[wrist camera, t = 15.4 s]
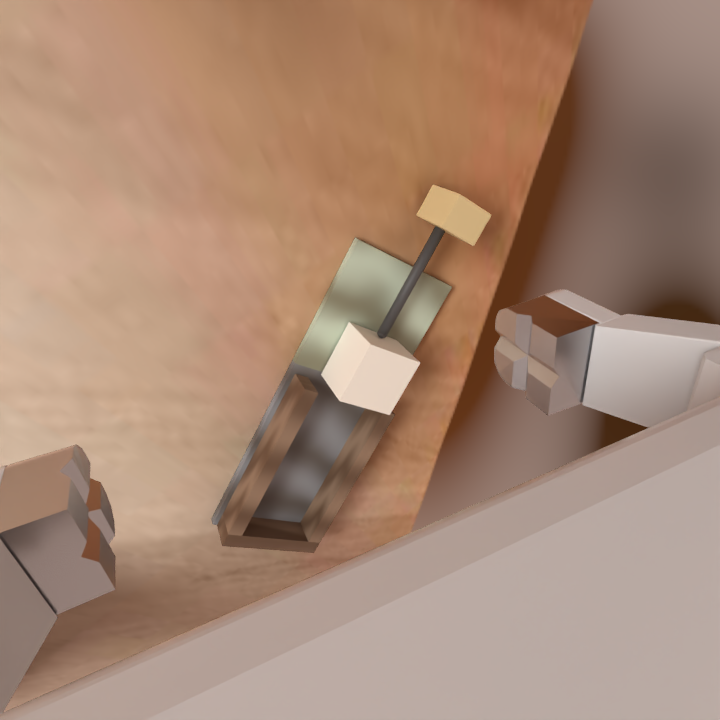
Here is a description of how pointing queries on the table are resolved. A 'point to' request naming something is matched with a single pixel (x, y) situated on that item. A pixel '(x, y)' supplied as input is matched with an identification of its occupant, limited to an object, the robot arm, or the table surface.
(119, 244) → the table surface
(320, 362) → the shelf lane
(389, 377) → the block plunger with rod
